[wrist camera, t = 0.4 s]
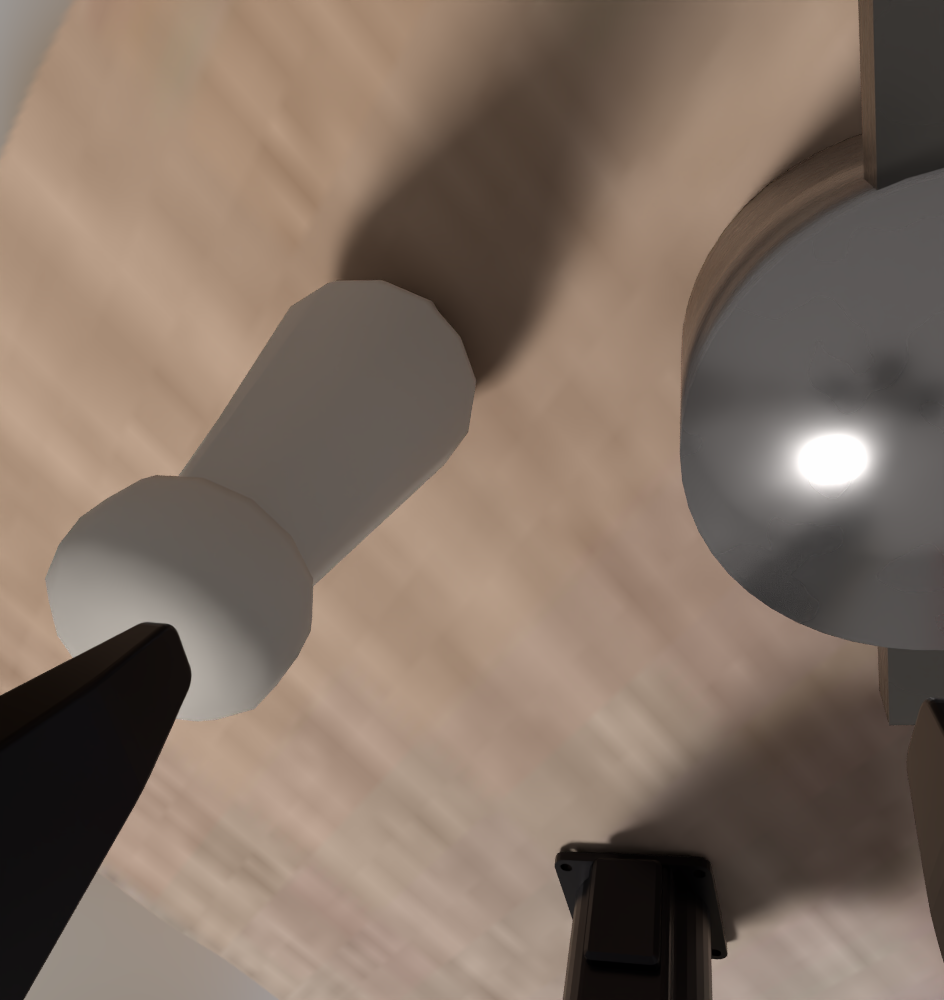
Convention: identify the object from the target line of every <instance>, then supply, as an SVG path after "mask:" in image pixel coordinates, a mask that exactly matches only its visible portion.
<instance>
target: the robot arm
mask: <svg viewBox="0 0 944 1000" xmlns="http://www.w3.org/2000/svg"><path fill="white" fill-rule="evenodd" d="M191 677H192V673H191V667H190V664H189V662H188V659H187V656H186V653H185V650H184V648H183V645H182V642H181V639H180V636H179V634H178V632H177V630H176V629H175V628H174V627H173V626H172V625H170V624H166V623H155V622H143V623H140V624H137V625H135V626H133V627H132V628H130V629H128V630H126V631H124V632H122V633H120V634H118V635H116V636H114V637H112V638H110V639H108V640H106V641H105V642H103V643H101V644H99V645H97V646H95V647H93V648H91V649H89V650H87V651H85V652H83V653H81V654H80V655H78V656H76V657H74V658H72V659H70V660H68V661H66V662H64V663H62V664H60V665H58V666H56V667H54V668H53V669H51V670H49V671H47V672H45V673H43V674H41V675H39V676H37V677H35V678H33V679H31V680H29V681H27V682H26V683H24V684H22V685H20V686H18V687H16V688H14V689H12V690H10V691H8V692H6V693H4V694H2V695H0V1000H24V998H25V997H26V995H27V993H28V991H29V990H30V988H31V986H32V984H33V983H34V981H35V979H36V977H37V976H38V974H39V972H40V970H41V969H42V967H43V965H44V963H45V962H46V960H47V958H48V956H49V955H50V953H51V951H52V949H53V948H54V946H55V944H56V942H57V940H58V939H59V937H60V935H61V934H62V932H63V930H64V928H65V927H66V925H67V923H68V921H69V920H70V918H71V916H72V914H73V913H74V911H75V909H76V907H77V905H78V904H79V902H80V900H81V899H82V897H83V895H84V893H85V892H86V890H87V888H88V886H89V885H90V883H91V881H92V879H93V878H94V876H95V874H96V872H97V871H98V869H99V867H100V865H101V864H102V862H103V860H104V858H105V857H106V855H107V853H108V851H109V850H110V848H111V846H112V844H113V843H114V841H115V839H116V837H117V836H118V834H119V832H120V830H121V829H122V827H123V825H124V823H125V822H126V820H127V818H128V816H129V815H130V813H131V811H132V809H133V808H134V806H135V804H136V802H137V800H138V798H139V797H140V795H141V793H142V791H143V789H144V787H145V785H146V783H147V781H148V779H149V777H150V775H151V773H152V770H153V768H154V766H155V764H156V761H157V759H158V757H159V755H160V753H161V750H162V748H163V746H164V744H165V741H166V739H167V737H168V735H169V733H170V730H171V728H172V726H173V724H174V721H175V719H176V717H177V715H178V713H179V710H180V708H181V706H182V704H183V701H184V699H185V697H186V695H187V693H188V690H189V688H190V684H191ZM907 773H908V780H909V786H910V792H911V799H912V805H913V811H914V817H915V823H916V829H917V836H918V842H919V848H920V854H921V860H922V866H923V873H924V879H925V885H926V891H927V896H928V902H929V907H930V913H931V917H932V921H933V925H934V929H935V933H936V937H937V941H938V944H939V948H940V951H941V955H942V958H943V962H944V698H934V697H932V698H928V699H926V700H924V702H923V703H922V705H921V707H920V710H919V713H918V717H917V720H916V724H915V727H914V731H913V734H912V738H911V741H910V745H909V748H908V753H907ZM555 869H556V872H557V875H558V878H559V881H560V884H561V887H562V890H563V893H564V895H565V898H566V901H567V904H568V907H569V910H570V913H571V916H572V919H573V923H572V931H571V938H570V946H569V954H568V962H567V970H566V978H565V986H564V994H563V1000H712V967H711V959H723V958H725V957H726V956H727V942H726V937H725V932H724V927H723V922H722V917H721V911H720V906H719V901H718V896H717V891H716V886H715V880H714V875H713V870H712V865H711V863H710V862H709V861H708V860H706V859H704V858H700V857H684V856H659V855H634V854H609V853H584V852H560V853H558V854H557V855H556V859H555Z"/></svg>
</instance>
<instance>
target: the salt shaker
mask: <svg viewBox="0 0 944 1000" xmlns="http://www.w3.org/2000/svg"><path fill="white" fill-rule="evenodd" d="M475 386H476V379H475V376H474V373H473V370H472V367H471V365H470V362H469V359H468V356H467V353H466V351H465V348H464V345H463V342H462V339H461V337H460V336H459V335H458V333H457V332H456V331H455V330H454V329H453V328H452V326H451V325H450V324H449V323H448V322H447V321H446V320H445V318H444V317H443V316H442V315H441V314H440V313H439V311H438V310H437V308H436V306H435V305H434V303H433V301H431V300H428V299H426V298H424V297H421V296H419V295H416V294H414V293H412V292H409V291H407V290H405V289H402V288H400V287H398V286H395V285H393V284H390V283H388V282H386V281H383V280H337V281H333V282H330V283H327V284H326V285H324V286H322V287H321V288H319V289H318V290H316V291H315V292H313V293H311V294H310V295H308V296H307V297H305V298H304V299H302V300H300V301H299V302H297V303H296V304H294V305H292V306H291V307H290V308H289V310H288V311H287V313H286V314H285V316H284V318H283V319H282V321H281V322H280V324H279V325H278V327H277V328H276V330H275V332H274V333H273V335H272V336H271V338H270V339H269V341H268V342H267V344H266V346H265V347H264V349H263V350H262V352H261V353H260V355H259V357H258V358H257V360H256V361H255V363H254V364H253V366H252V367H251V369H250V371H249V372H248V374H247V375H246V377H245V378H244V380H243V381H242V383H241V385H240V386H239V388H238V389H237V391H236V392H235V394H234V395H233V397H232V399H231V400H230V402H229V403H228V405H227V406H226V408H225V409H224V411H223V413H222V414H221V416H220V417H219V419H218V420H217V422H216V423H215V424H214V426H213V427H212V429H211V430H210V432H209V433H208V434H207V436H206V437H205V439H204V440H203V442H202V443H201V444H200V446H199V447H198V449H197V450H196V452H195V453H194V454H193V456H192V457H191V459H190V460H189V462H188V463H187V464H186V466H185V467H184V469H183V470H182V472H181V473H180V474H179V476H160V475H155V476H152V477H148V478H144V479H141V480H139V481H137V482H136V483H134V484H132V485H130V486H129V487H127V488H125V489H123V490H121V491H120V492H118V493H116V494H114V495H112V496H111V497H109V498H107V499H106V500H104V501H103V502H101V503H100V504H98V505H97V506H96V507H94V508H93V509H91V510H90V511H89V512H87V513H86V514H84V515H83V516H82V517H80V518H79V520H78V521H77V522H76V524H75V525H74V526H73V527H72V529H71V530H70V531H69V532H68V534H67V535H66V536H65V538H64V539H63V540H62V541H61V543H60V544H59V546H58V548H57V551H56V553H55V556H54V558H53V561H52V563H51V565H50V568H49V570H48V573H47V575H46V578H45V580H46V586H47V592H48V599H49V603H50V608H51V612H52V616H53V620H54V624H55V628H56V632H57V635H58V637H59V638H60V640H61V641H62V643H63V644H64V646H65V647H66V648H67V650H68V651H69V653H70V654H71V656H72V657H73V658H74V657H76V656H78V655H80V654H81V653H83V652H85V651H87V650H89V649H91V648H93V647H95V646H97V645H99V644H101V643H103V642H105V641H106V640H108V639H110V638H112V637H114V636H116V635H118V634H120V633H122V632H124V631H126V630H128V629H130V628H132V627H133V626H135V625H137V624H140V623H143V622H155V623H166V624H170V625H172V626H173V627H174V628H175V629H176V630H177V632H178V634H179V636H180V639H181V642H182V645H183V648H184V650H185V653H186V656H187V659H188V662H189V664H190V667H191V673H192V677H191V684H190V688H189V690H188V693H187V695H186V697H185V699H184V701H183V704H182V706H181V708H180V710H179V713H178V715H177V717H176V719H182V720H190V721H207V720H218V719H221V718H224V717H228V716H231V715H235V714H238V713H242V712H245V711H249V710H252V709H255V708H256V707H257V705H258V704H259V703H260V702H261V701H262V700H263V699H264V698H265V697H266V696H267V695H268V694H269V693H270V692H271V691H272V690H273V688H274V687H275V686H276V685H277V684H278V682H279V681H280V680H281V678H282V677H283V676H284V674H285V673H286V672H287V670H288V669H289V668H290V666H291V665H292V663H293V662H294V661H295V659H296V658H297V657H298V655H299V653H300V651H301V649H302V647H303V645H304V643H305V641H306V639H307V637H308V635H309V633H310V631H311V622H312V603H313V586H314V585H315V584H316V583H317V582H318V581H319V580H321V579H322V578H323V577H324V576H325V575H326V574H327V573H328V572H329V571H330V570H331V569H332V568H333V567H335V566H336V565H337V564H338V563H339V562H340V561H341V560H342V559H343V558H344V557H345V556H346V555H347V554H349V553H350V552H351V551H352V550H353V549H354V548H355V547H356V546H357V545H358V544H359V543H360V542H361V541H363V540H364V539H365V538H366V537H367V536H368V535H369V534H370V533H371V532H372V531H373V530H374V529H375V528H377V527H378V526H379V525H380V524H381V523H382V522H383V521H384V520H385V519H386V518H387V517H388V516H389V515H391V514H392V513H393V512H394V511H395V510H396V509H397V508H398V507H399V506H400V505H401V504H402V503H403V502H405V501H406V500H407V499H408V498H409V497H410V496H411V495H412V494H413V493H414V492H415V491H416V490H417V489H419V488H420V487H421V486H422V485H423V484H424V483H425V482H426V481H427V480H428V479H429V478H430V477H431V476H433V475H434V474H435V473H436V472H437V471H438V470H439V469H440V468H441V467H442V466H443V465H444V464H445V463H446V462H447V460H448V459H449V457H450V456H451V455H452V453H453V452H454V451H455V449H456V448H457V447H458V445H459V444H460V442H461V441H462V440H463V438H464V437H465V436H466V434H467V433H468V429H469V423H470V416H471V410H472V404H473V398H474V392H475Z"/></svg>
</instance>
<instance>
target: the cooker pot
mask: <svg viewBox="0 0 944 1000" xmlns="http://www.w3.org/2000/svg"><path fill="white" fill-rule="evenodd" d="M858 6H859V39H860V72H861V105H862V134H861V135H858V136H855V137H852V138H849V139H847V140H844V141H842V142H840V143H838V144H835V145H833V146H831V147H829V148H826V149H824V150H822V151H820V152H818V153H816V154H814V155H813V156H811V157H809V158H808V159H806V160H804V161H802V162H801V163H799V164H797V165H796V166H794V167H792V168H791V169H789V170H788V171H787V172H785V173H784V174H783V175H781V176H780V177H779V178H777V179H776V180H775V181H773V182H772V183H770V184H769V185H768V186H766V187H765V188H764V189H763V190H762V191H761V192H760V193H759V194H758V195H757V196H756V197H755V198H754V199H752V200H751V201H750V202H749V203H748V204H747V205H746V206H745V207H744V208H743V209H742V210H741V211H740V213H739V214H738V215H737V216H736V217H735V218H734V220H733V221H732V222H731V223H730V224H729V226H728V227H727V228H726V229H725V230H724V232H723V233H722V235H721V236H720V238H719V239H718V241H717V242H716V244H715V245H714V247H713V248H712V250H711V251H710V253H709V254H708V256H707V258H706V260H705V262H704V264H703V266H702V268H701V270H700V272H699V274H698V276H697V278H696V281H695V284H694V287H693V290H692V293H691V296H690V298H689V301H688V305H687V310H686V315H685V320H684V324H683V335H682V350H681V416H680V460H681V472H682V482H683V486H684V490H685V494H686V498H687V503H688V507H689V509H690V512H691V514H692V516H693V519H694V521H695V524H696V526H697V529H698V531H699V533H700V534H701V536H702V538H703V539H704V541H705V543H706V544H707V546H708V548H709V549H710V551H711V553H712V554H713V555H714V556H715V558H716V559H717V560H718V561H719V563H720V564H721V565H722V566H723V567H724V569H725V570H726V571H727V572H728V574H729V575H730V576H732V577H733V578H734V579H735V580H736V581H737V582H738V583H739V584H740V585H741V586H742V587H743V588H745V589H746V590H747V591H748V592H749V593H750V594H752V595H753V596H755V597H756V598H757V599H759V600H760V601H762V602H763V603H764V604H766V605H767V606H769V607H770V608H772V609H773V610H775V611H777V612H779V613H781V614H783V615H784V616H786V617H788V618H790V619H792V620H794V621H795V622H798V623H800V624H803V625H805V626H807V627H810V628H812V629H815V630H817V631H820V632H822V633H825V634H829V635H832V636H836V637H839V638H842V639H846V640H849V641H853V642H858V643H864V644H869V645H874V646H878V665H879V691H880V694H881V698H882V701H883V705H884V708H885V712H886V715H887V719H888V722H889V725H915V724H916V720H917V717H918V713H919V710H920V707H921V705H922V703H923V702H924V700H926V699H928V698H932V697H934V698H944V0H858Z"/></svg>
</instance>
